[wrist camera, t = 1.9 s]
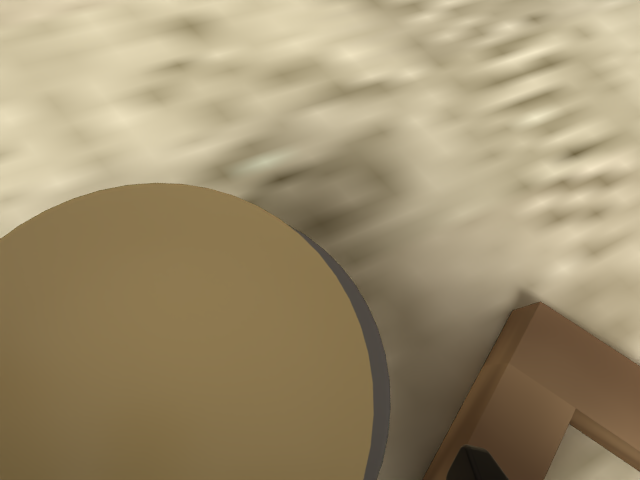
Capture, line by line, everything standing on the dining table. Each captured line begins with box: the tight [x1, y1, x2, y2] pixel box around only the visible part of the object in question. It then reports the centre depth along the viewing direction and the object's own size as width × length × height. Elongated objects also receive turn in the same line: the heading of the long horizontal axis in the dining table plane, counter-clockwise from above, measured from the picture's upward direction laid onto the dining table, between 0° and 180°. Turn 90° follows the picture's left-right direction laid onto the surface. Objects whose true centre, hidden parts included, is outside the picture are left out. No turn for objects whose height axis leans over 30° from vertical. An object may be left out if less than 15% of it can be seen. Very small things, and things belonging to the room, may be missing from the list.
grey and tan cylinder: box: [0, 183, 390, 480], centre depth 10 cm, size 5×5×13 cm
